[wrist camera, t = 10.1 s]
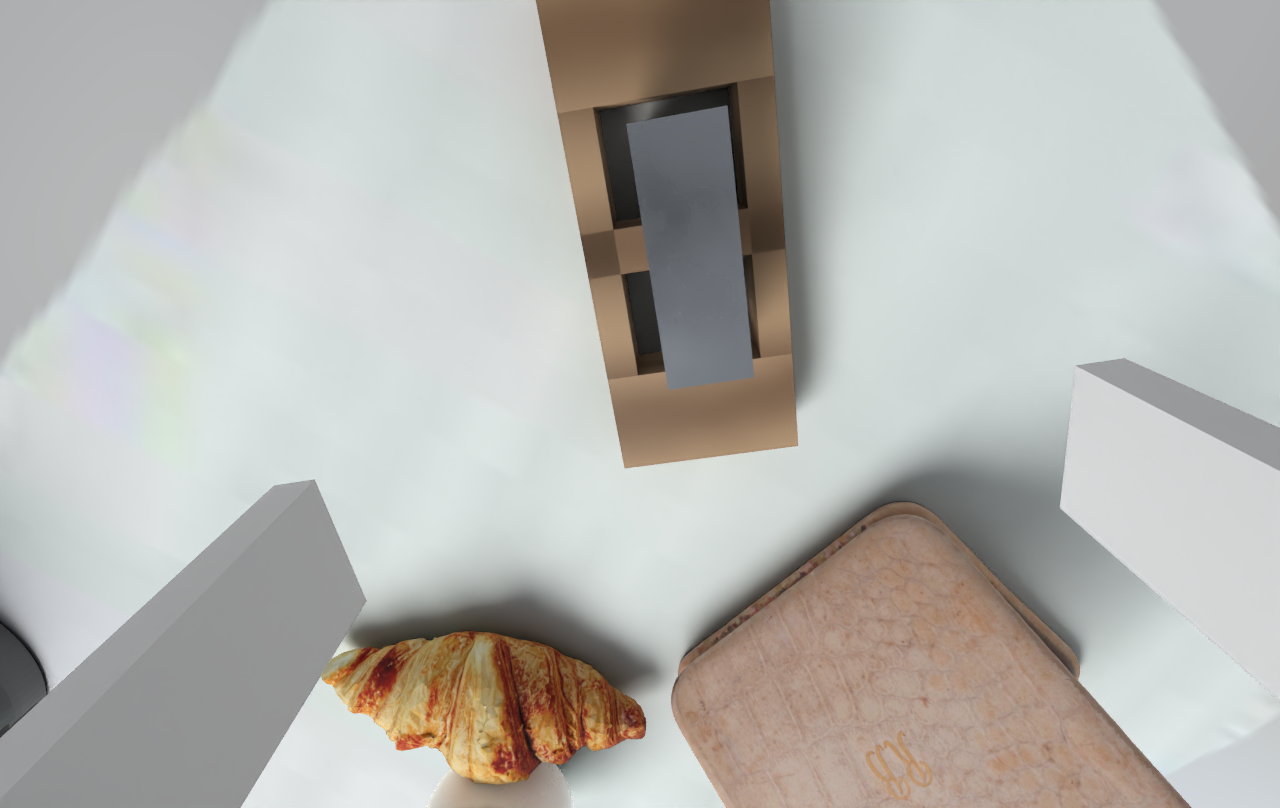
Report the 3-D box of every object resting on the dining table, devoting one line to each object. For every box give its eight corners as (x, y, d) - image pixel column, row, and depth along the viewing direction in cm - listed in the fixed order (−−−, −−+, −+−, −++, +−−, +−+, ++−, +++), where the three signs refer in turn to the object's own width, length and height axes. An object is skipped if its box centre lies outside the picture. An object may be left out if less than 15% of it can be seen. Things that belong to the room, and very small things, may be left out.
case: (899, 471, 36) (1065, 702, 21) (1091, 664, 41) (1330, 955, 27) (654, 656, 42) (651, 935, 27) (848, 803, 48) (934, 1102, 33)
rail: (785, 419, 34) (798, 445, 32) (626, 440, 35) (624, 468, 32) (751, -49, 26) (764, -74, 23) (543, -10, 27) (530, -28, 24)
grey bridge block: (730, 323, 32) (754, 377, 25) (664, 333, 32) (668, 389, 25) (707, 114, 28) (727, 105, 21) (632, 128, 29) (626, 123, 21)
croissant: (360, 642, 46) (314, 765, 41) (321, 594, 38) (258, 739, 33) (642, 683, 46) (630, 809, 41) (662, 644, 38) (650, 795, 34)
